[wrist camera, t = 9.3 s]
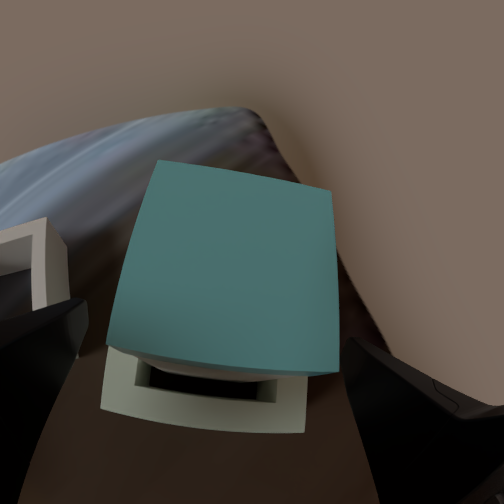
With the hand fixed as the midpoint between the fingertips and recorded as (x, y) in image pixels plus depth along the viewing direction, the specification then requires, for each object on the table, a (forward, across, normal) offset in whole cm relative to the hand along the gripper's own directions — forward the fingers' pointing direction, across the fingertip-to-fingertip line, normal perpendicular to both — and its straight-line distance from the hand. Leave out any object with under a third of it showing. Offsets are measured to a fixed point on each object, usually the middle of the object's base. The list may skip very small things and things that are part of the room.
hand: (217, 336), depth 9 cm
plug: (+7, 0, +5) cm, 9 cm away
